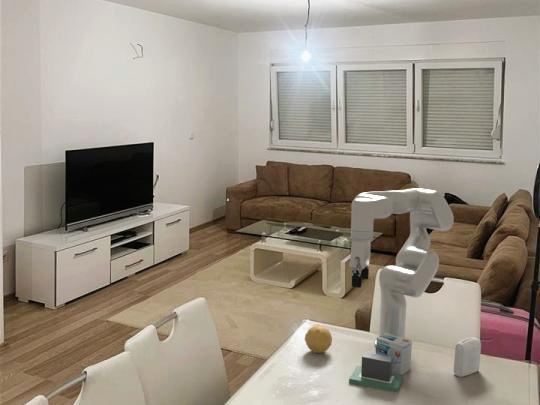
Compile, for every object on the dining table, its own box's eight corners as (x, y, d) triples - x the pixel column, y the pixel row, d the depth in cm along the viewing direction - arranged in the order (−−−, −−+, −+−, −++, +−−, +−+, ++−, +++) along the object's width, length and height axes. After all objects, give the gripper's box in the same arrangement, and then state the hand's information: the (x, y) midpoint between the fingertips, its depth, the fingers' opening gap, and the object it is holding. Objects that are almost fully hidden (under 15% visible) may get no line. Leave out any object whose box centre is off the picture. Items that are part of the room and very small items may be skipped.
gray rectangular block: (364, 371, 193) (364, 351, 192) (391, 376, 190) (392, 357, 188) (361, 376, 190) (361, 356, 189) (389, 382, 186) (390, 362, 185)
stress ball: (318, 347, 218) (299, 332, 216) (336, 330, 215) (316, 315, 213) (320, 363, 208) (300, 347, 206) (338, 345, 206) (318, 330, 204)
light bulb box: (374, 366, 201) (375, 337, 199) (384, 359, 206) (386, 331, 204) (401, 376, 194) (402, 346, 192) (411, 369, 199) (412, 340, 197)
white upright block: (470, 366, 201) (473, 333, 199) (481, 371, 198) (483, 337, 195) (451, 373, 196) (453, 339, 193) (461, 378, 192) (464, 344, 190)
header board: (356, 369, 198) (357, 357, 197) (403, 379, 191) (403, 366, 191) (348, 382, 189) (349, 369, 188) (397, 392, 182) (398, 379, 182)
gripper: (357, 228, 203) (356, 274, 206) (344, 238, 187) (342, 288, 190) (378, 230, 200) (376, 277, 203) (366, 241, 184) (364, 291, 187)
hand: (360, 282), depth 196 cm, fingers open, 9 cm apart
